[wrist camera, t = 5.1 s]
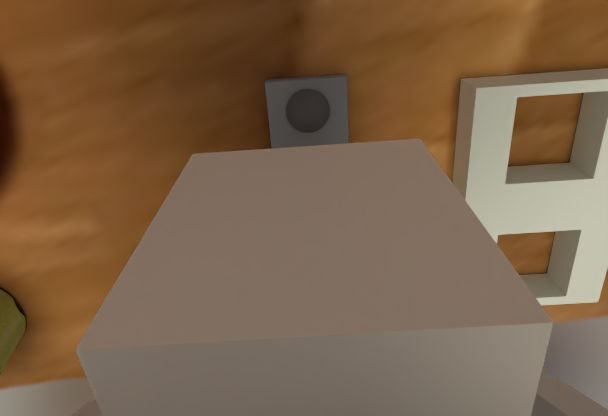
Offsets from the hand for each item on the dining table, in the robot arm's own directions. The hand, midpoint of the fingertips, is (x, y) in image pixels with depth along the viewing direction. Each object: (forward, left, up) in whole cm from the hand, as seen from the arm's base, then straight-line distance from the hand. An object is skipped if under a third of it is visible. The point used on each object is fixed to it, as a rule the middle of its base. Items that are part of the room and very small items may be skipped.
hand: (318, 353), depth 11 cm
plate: (0, 0, -17) cm, 17 cm away
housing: (0, 0, -3) cm, 3 cm away
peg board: (+4, +13, -17) cm, 22 cm away
